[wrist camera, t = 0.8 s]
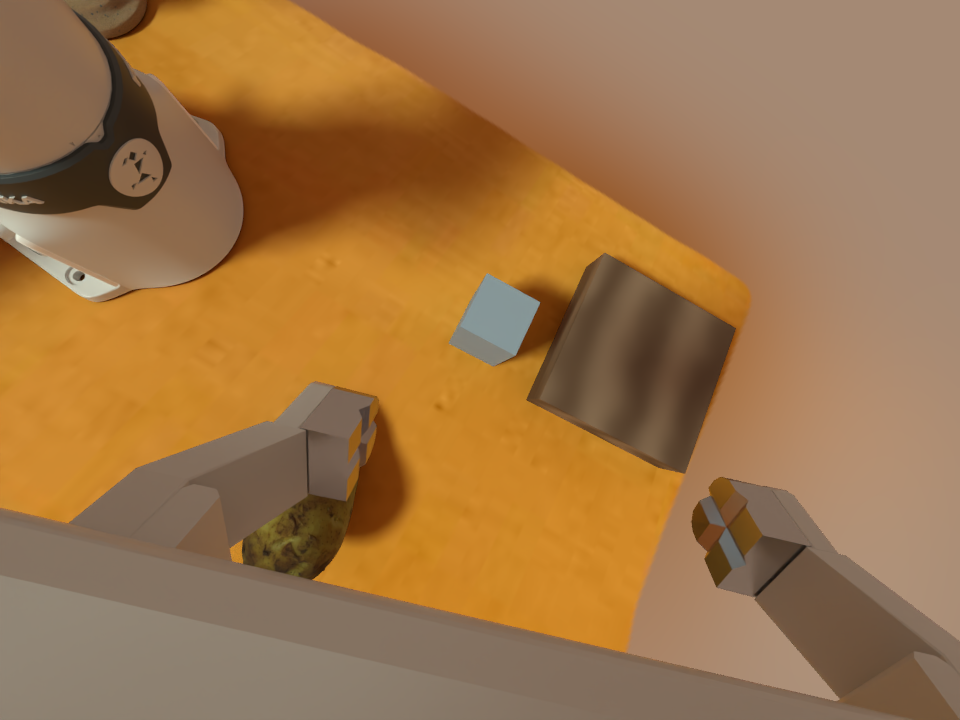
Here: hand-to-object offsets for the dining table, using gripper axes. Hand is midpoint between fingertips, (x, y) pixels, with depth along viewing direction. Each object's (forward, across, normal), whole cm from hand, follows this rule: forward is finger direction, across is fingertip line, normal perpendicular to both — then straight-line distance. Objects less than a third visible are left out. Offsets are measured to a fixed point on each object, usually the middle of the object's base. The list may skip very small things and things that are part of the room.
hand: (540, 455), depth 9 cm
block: (+28, +2, +11) cm, 30 cm away
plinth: (+30, -13, +12) cm, 35 cm away
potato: (+16, +13, +23) cm, 31 cm away
